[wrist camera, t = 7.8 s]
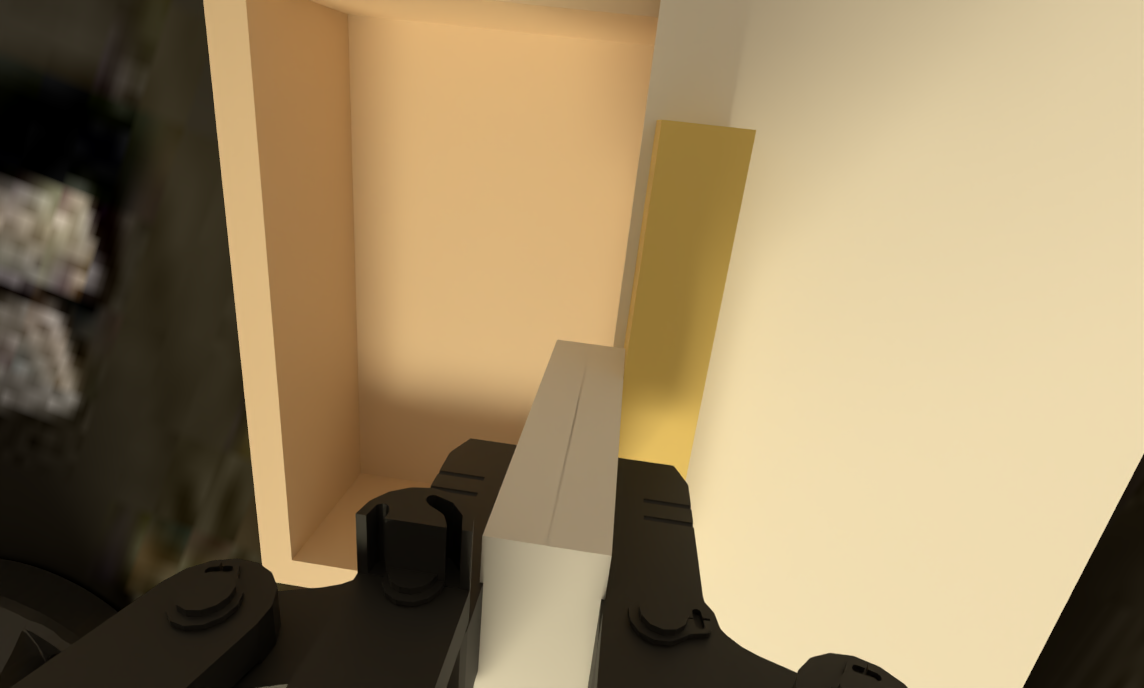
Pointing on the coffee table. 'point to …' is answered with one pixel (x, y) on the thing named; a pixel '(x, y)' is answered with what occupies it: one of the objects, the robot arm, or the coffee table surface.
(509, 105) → the mailer box
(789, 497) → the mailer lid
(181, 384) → the coffee table surface
